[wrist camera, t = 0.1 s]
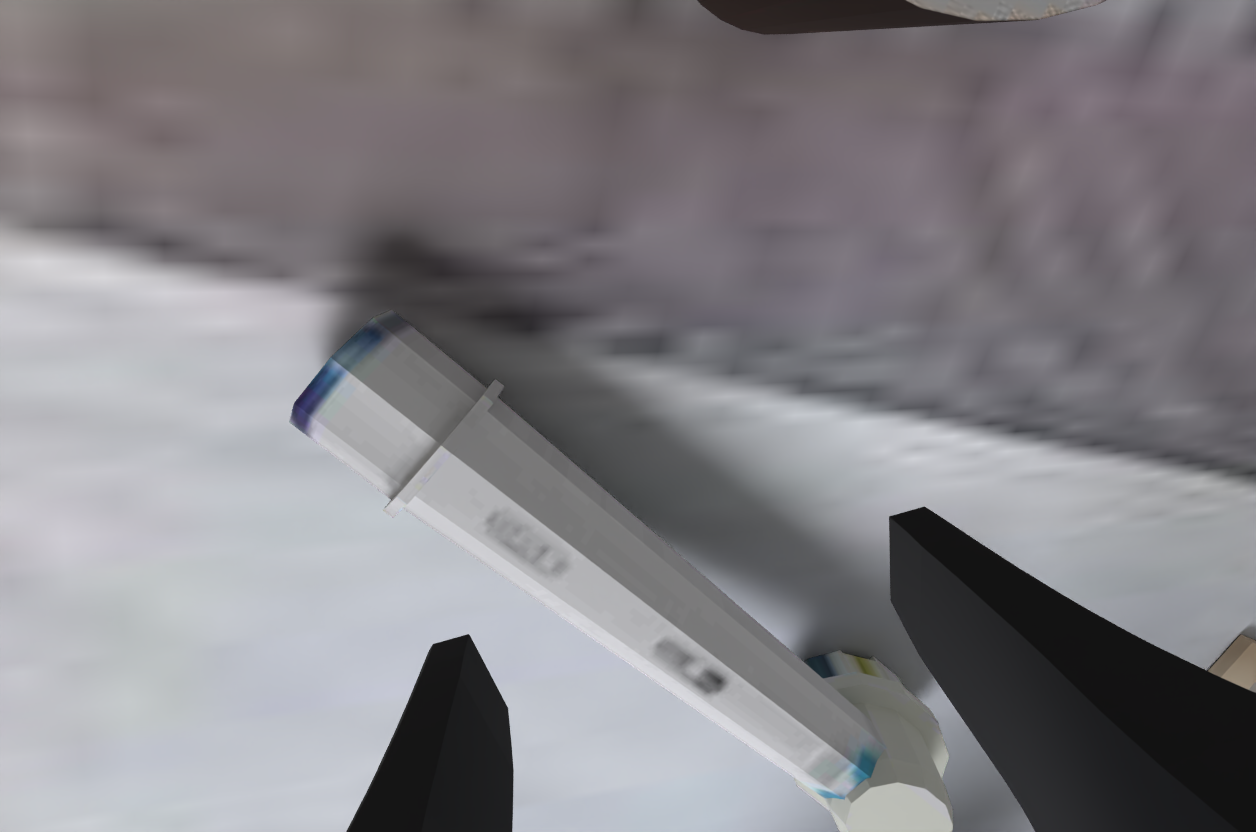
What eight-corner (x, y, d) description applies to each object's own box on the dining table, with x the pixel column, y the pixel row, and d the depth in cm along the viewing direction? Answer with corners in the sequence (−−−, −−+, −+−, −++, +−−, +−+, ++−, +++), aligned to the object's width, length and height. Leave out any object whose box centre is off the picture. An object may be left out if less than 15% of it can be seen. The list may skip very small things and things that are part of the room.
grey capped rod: (371, 301, 16) (1046, 857, 21) (442, 276, 22) (945, 706, 27) (244, 461, 17) (916, 954, 22) (347, 393, 23) (848, 786, 28)
